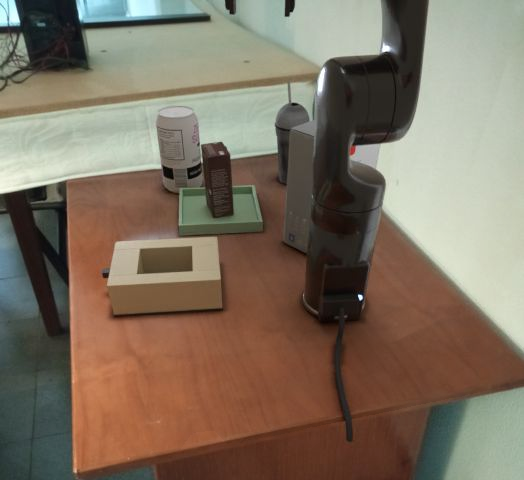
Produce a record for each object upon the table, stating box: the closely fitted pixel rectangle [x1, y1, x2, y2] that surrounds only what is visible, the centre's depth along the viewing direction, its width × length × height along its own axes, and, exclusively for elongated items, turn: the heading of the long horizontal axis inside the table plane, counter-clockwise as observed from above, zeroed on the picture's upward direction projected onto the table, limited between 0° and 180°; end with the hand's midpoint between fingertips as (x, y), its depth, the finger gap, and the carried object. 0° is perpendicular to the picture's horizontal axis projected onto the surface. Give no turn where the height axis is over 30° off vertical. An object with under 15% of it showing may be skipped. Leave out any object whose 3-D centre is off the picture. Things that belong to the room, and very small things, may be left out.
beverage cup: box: [274, 77, 311, 185], centre depth 101 cm, size 7×7×20 cm
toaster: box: [101, 236, 224, 318], centre depth 76 cm, size 12×18×6 cm
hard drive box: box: [282, 119, 382, 255], centre depth 84 cm, size 16×8×20 cm, turn 136°
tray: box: [178, 184, 264, 237], centre depth 95 cm, size 15×15×2 cm
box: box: [200, 141, 234, 218], centre depth 92 cm, size 6×4×12 cm
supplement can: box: [154, 105, 204, 194], centre depth 100 cm, size 8×8×15 cm
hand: (260, 15), depth 76 cm, fingers open, 8 cm apart
